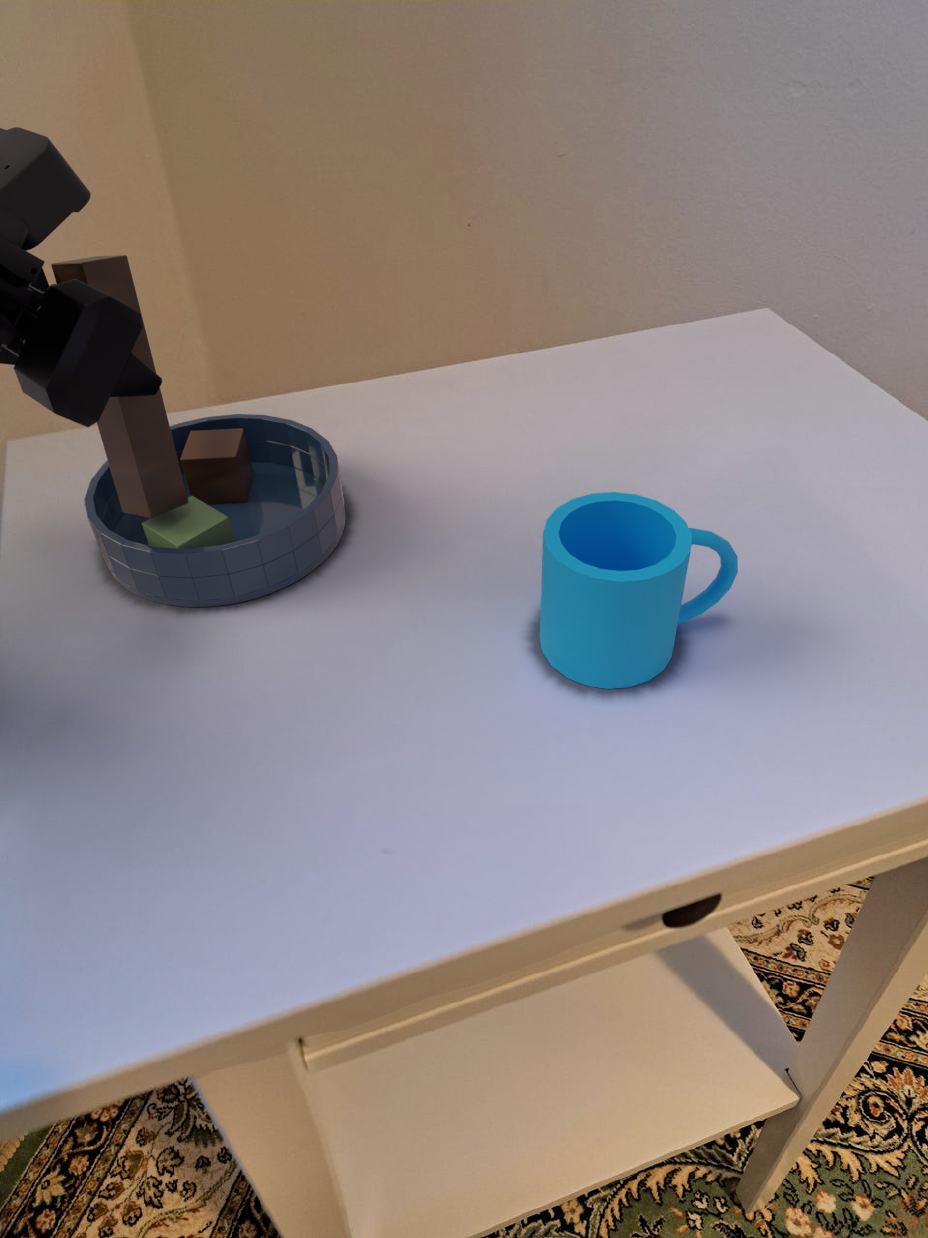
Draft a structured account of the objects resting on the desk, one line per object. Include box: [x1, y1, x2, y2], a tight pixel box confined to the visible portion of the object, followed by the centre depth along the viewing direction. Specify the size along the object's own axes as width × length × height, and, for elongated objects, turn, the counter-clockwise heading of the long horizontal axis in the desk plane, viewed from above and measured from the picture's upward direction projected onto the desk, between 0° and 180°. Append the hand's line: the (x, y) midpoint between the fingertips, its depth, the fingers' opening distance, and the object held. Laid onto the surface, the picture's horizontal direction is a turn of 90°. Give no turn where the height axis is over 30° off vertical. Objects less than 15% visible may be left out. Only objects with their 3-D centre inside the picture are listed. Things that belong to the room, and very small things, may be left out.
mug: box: [539, 491, 739, 690], centre depth 52 cm, size 12×8×8 cm
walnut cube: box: [180, 428, 254, 504], centre depth 66 cm, size 4×4×4 cm
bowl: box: [84, 413, 347, 608], centre depth 63 cm, size 17×17×4 cm
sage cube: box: [142, 496, 235, 549], centre depth 59 cm, size 4×4×4 cm
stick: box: [50, 254, 189, 518], centre depth 54 cm, size 3×3×15 cm
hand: (141, 377), depth 54 cm, fingers closed on stick, 3 cm apart
